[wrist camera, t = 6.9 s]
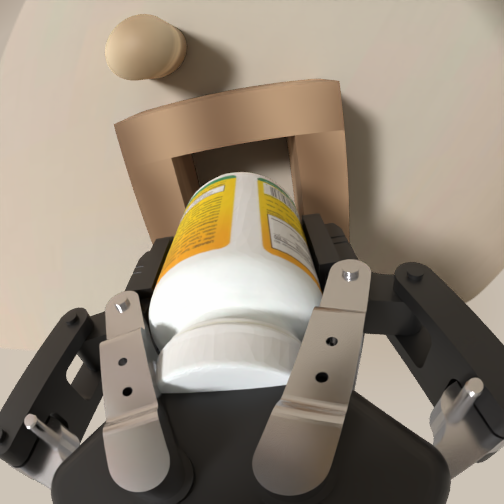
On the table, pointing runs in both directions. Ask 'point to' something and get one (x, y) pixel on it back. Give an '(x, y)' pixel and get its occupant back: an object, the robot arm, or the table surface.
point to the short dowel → (145, 48)
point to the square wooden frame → (237, 132)
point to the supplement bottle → (233, 289)
